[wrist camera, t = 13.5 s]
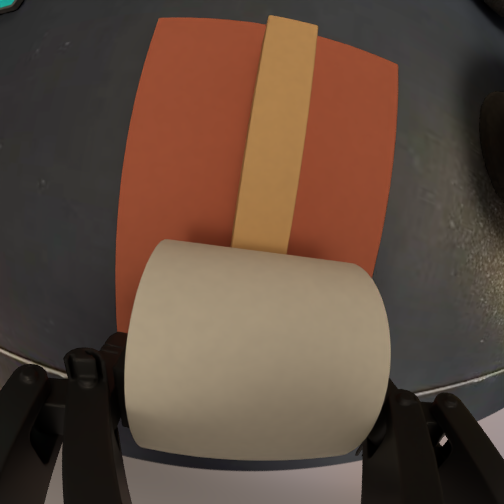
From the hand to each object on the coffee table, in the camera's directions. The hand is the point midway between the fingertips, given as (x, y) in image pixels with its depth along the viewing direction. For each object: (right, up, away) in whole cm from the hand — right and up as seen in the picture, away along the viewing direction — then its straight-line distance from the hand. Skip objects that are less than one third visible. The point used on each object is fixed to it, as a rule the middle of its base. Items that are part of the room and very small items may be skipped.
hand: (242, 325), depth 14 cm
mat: (+1, +5, +1) cm, 5 cm away
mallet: (+1, +5, -1) cm, 6 cm away
